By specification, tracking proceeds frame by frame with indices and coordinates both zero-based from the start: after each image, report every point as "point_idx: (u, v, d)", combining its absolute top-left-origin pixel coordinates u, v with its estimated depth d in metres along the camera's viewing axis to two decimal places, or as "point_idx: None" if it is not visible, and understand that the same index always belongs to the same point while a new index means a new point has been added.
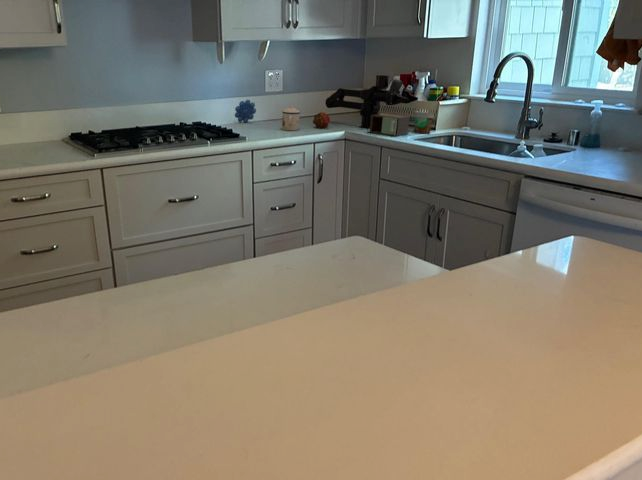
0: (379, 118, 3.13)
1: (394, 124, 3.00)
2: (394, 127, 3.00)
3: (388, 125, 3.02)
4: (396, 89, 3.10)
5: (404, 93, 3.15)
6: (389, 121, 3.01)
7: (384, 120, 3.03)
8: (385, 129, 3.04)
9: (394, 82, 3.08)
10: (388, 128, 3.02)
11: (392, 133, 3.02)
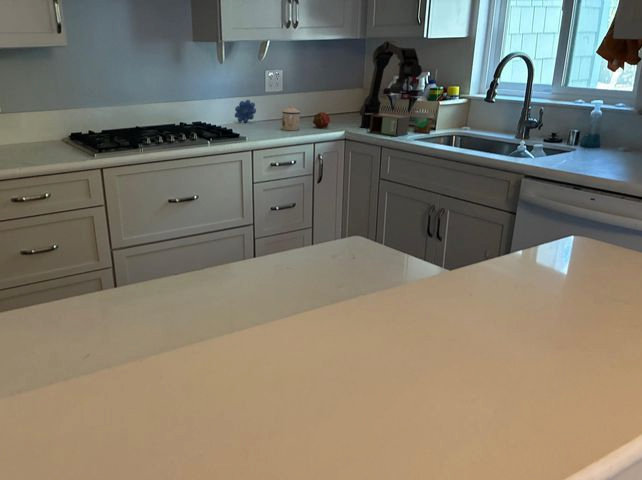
0: (379, 118, 3.13)
1: (394, 124, 3.00)
2: (394, 127, 3.00)
3: (388, 125, 3.02)
4: None
5: None
6: (389, 121, 3.01)
7: (384, 120, 3.03)
8: (385, 129, 3.04)
9: None
10: (388, 128, 3.02)
11: (392, 133, 3.02)
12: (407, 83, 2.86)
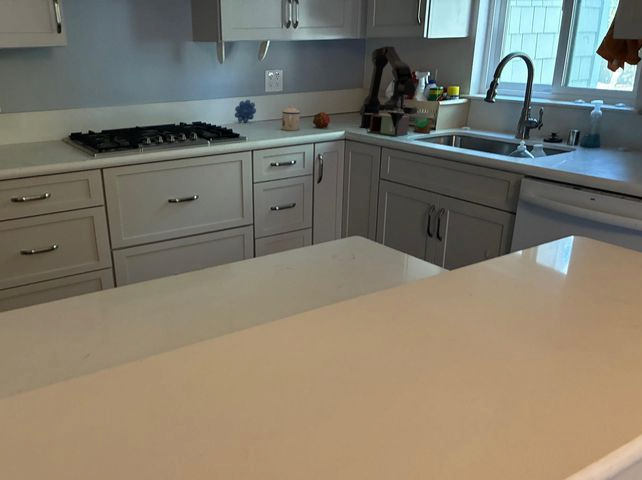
0: (379, 118, 3.13)
1: None
2: (393, 127, 3.00)
3: (387, 125, 3.03)
4: None
5: None
6: (388, 121, 3.01)
7: (383, 120, 3.03)
8: (384, 129, 3.04)
9: None
10: (388, 128, 3.03)
11: (391, 133, 3.02)
12: (401, 100, 2.90)
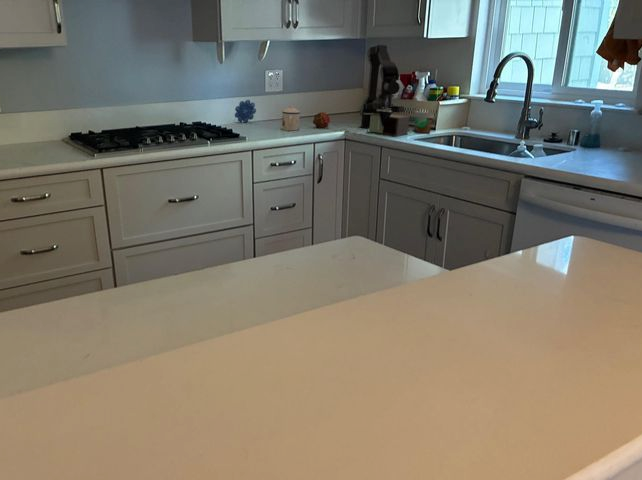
0: None
1: (381, 123, 3.04)
2: (381, 125, 3.05)
3: (375, 124, 3.07)
4: None
5: None
6: (377, 119, 3.06)
7: (372, 118, 3.08)
8: (372, 128, 3.09)
9: None
10: (376, 126, 3.07)
11: (380, 131, 3.06)
12: (389, 99, 2.95)
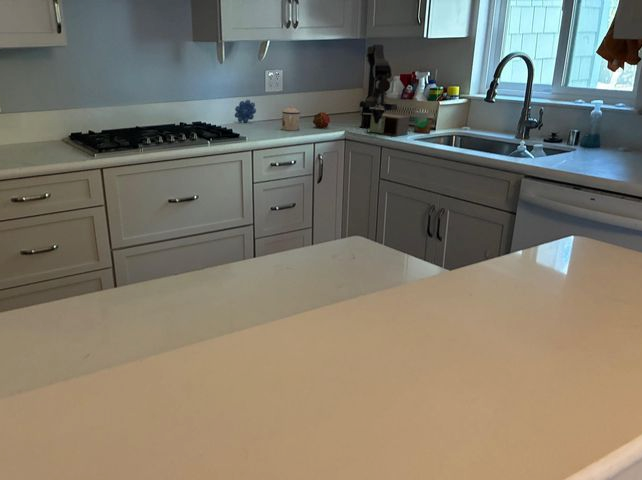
0: None
1: (382, 123, 3.04)
2: (382, 125, 3.04)
3: (376, 124, 3.07)
4: None
5: None
6: None
7: (372, 118, 3.07)
8: (373, 128, 3.08)
9: None
10: (377, 126, 3.07)
11: (380, 131, 3.06)
12: (382, 97, 2.97)
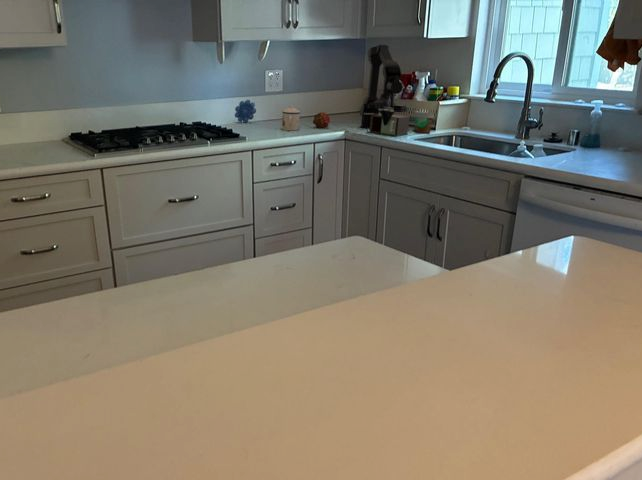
0: (379, 118, 3.13)
1: (393, 124, 3.00)
2: (393, 127, 3.00)
3: (387, 125, 3.03)
4: None
5: None
6: None
7: None
8: (384, 129, 3.04)
9: None
10: (388, 128, 3.03)
11: (391, 133, 3.02)
12: (391, 98, 2.94)
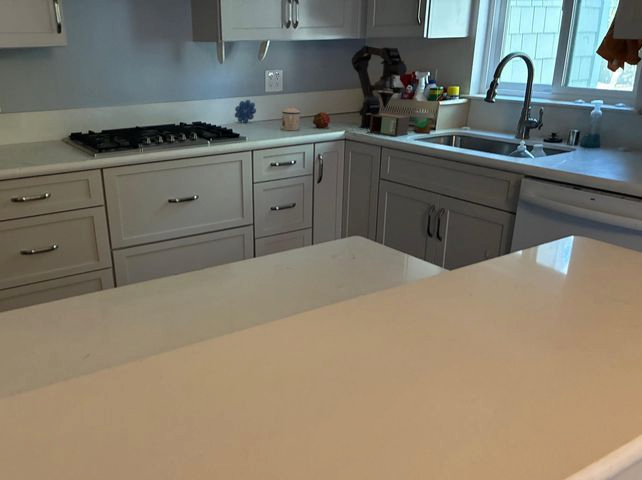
0: (379, 118, 3.13)
1: (393, 124, 3.00)
2: (393, 127, 3.00)
3: (387, 125, 3.03)
4: None
5: None
6: (388, 121, 3.01)
7: (383, 120, 3.03)
8: (384, 129, 3.04)
9: None
10: (388, 128, 3.03)
11: (391, 133, 3.02)
12: (390, 81, 3.06)
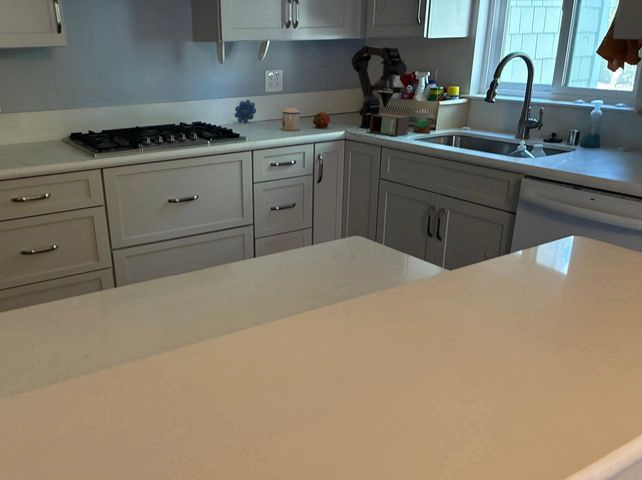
0: (379, 118, 3.13)
1: (393, 124, 3.00)
2: (393, 127, 3.00)
3: (387, 125, 3.03)
4: None
5: None
6: (388, 121, 3.01)
7: (383, 120, 3.03)
8: (384, 129, 3.04)
9: None
10: (388, 128, 3.03)
11: (391, 133, 3.02)
12: (390, 80, 3.06)
